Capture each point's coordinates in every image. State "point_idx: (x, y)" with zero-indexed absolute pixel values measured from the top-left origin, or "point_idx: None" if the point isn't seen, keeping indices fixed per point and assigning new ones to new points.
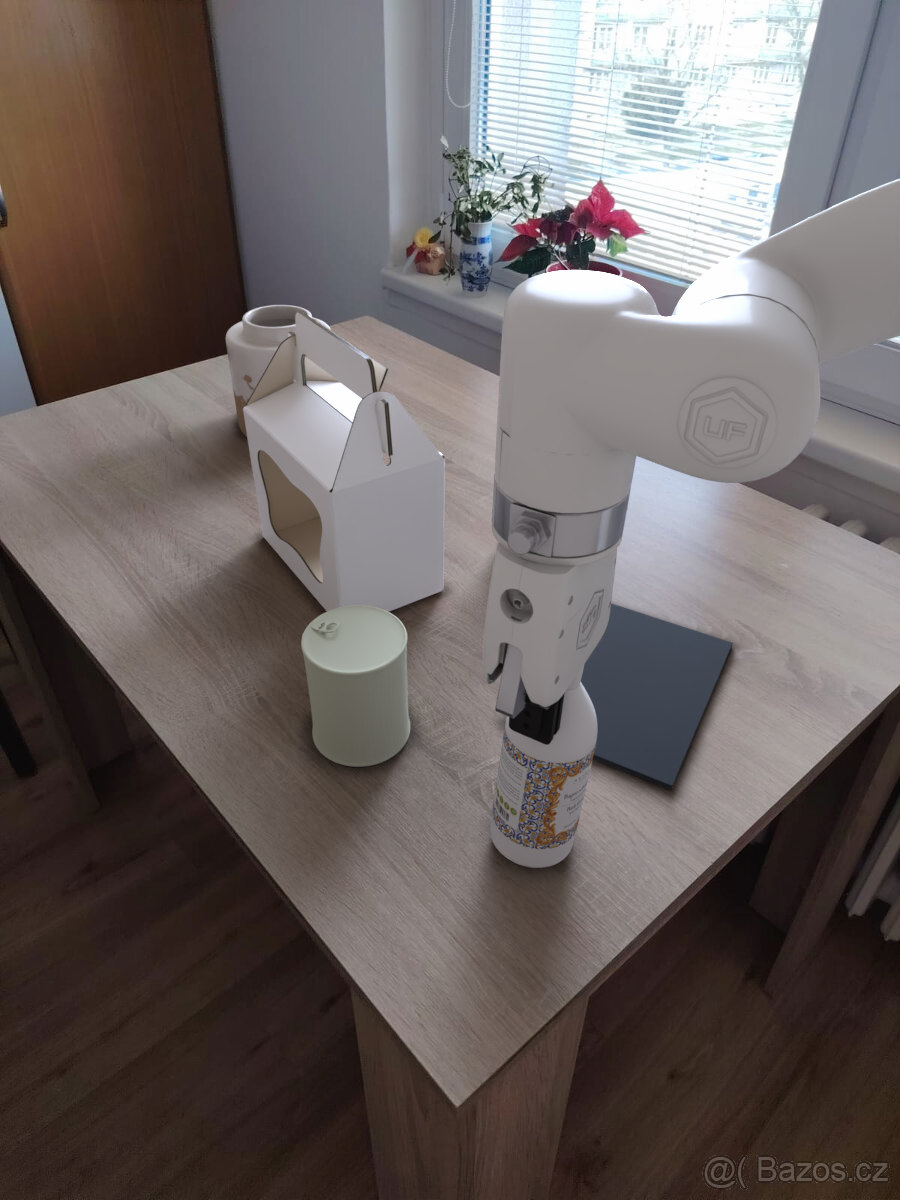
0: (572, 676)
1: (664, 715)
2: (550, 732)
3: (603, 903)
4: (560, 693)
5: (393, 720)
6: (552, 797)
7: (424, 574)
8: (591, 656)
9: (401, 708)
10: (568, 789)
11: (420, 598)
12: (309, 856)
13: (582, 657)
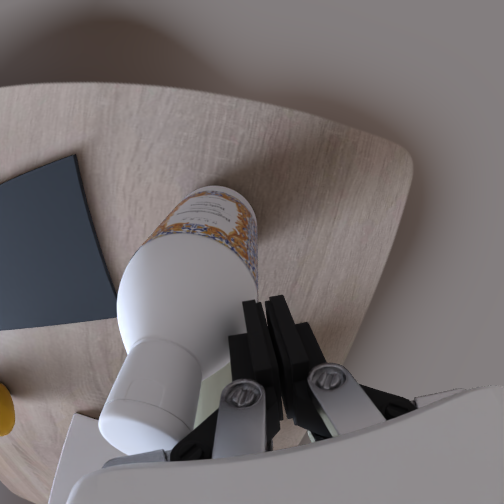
0: (416, 439)
1: (16, 211)
2: (289, 311)
3: (229, 132)
4: (480, 405)
5: (222, 386)
6: (242, 231)
7: (86, 435)
8: (19, 300)
9: (209, 391)
10: (225, 222)
11: (94, 419)
12: (333, 336)
13: (355, 490)
